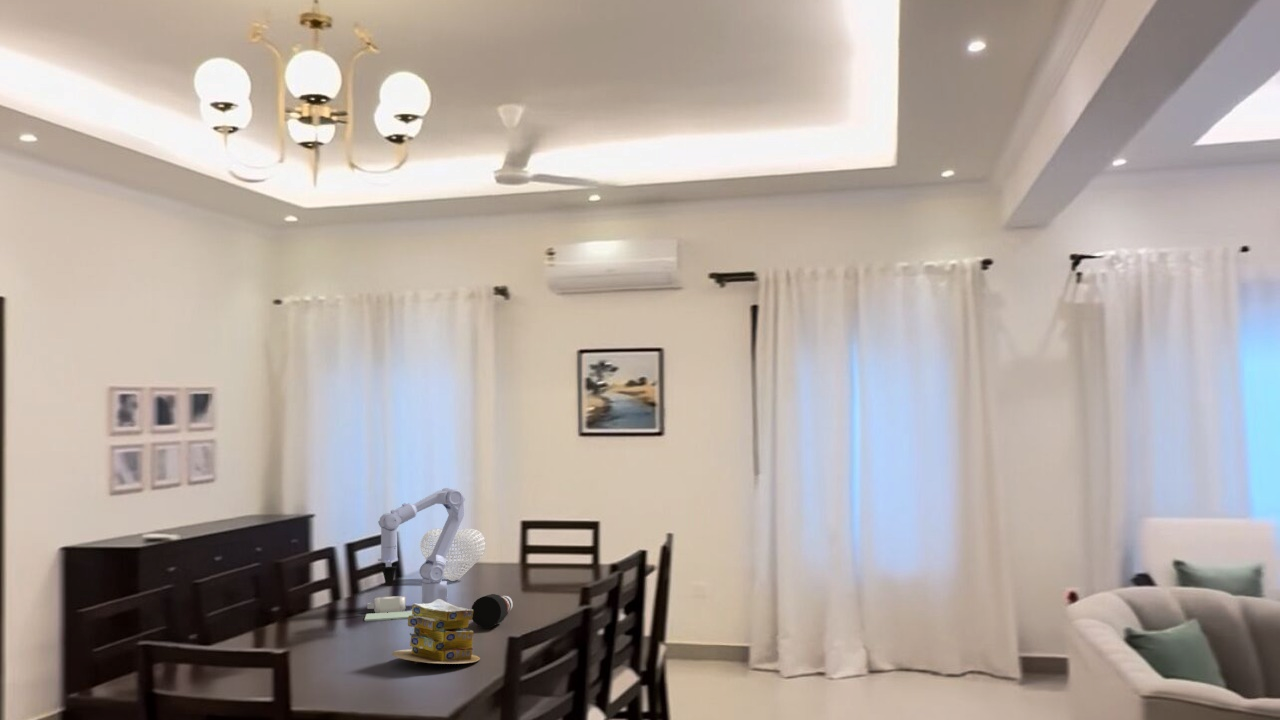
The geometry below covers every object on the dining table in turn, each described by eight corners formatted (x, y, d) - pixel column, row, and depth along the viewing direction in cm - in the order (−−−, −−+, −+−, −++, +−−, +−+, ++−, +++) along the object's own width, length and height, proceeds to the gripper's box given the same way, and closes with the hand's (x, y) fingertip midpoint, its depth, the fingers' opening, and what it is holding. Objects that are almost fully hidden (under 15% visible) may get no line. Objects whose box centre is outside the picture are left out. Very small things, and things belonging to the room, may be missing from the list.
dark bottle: (513, 622, 351) (526, 596, 352) (492, 633, 318) (506, 605, 319) (489, 609, 353) (502, 583, 354) (465, 619, 319) (479, 590, 320)
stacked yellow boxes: (452, 647, 296) (451, 592, 297) (496, 662, 277) (495, 603, 278) (377, 662, 280) (376, 604, 281) (418, 679, 261) (417, 616, 262)
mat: (412, 612, 350) (412, 611, 350) (411, 618, 340) (411, 616, 340) (366, 615, 346) (366, 613, 346) (364, 621, 337) (364, 619, 337)
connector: (405, 609, 356) (405, 595, 356) (405, 611, 352) (405, 597, 352) (367, 611, 353) (367, 597, 354) (367, 613, 349) (367, 599, 350)
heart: (490, 577, 422) (489, 526, 423) (480, 584, 406) (479, 530, 408) (427, 577, 425) (427, 526, 426) (415, 584, 409) (415, 531, 411)
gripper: (379, 544, 361) (379, 581, 360) (376, 549, 346) (377, 588, 346) (398, 543, 362) (398, 580, 361) (397, 548, 348) (397, 586, 347)
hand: (389, 584), depth 354 cm, fingers open, 7 cm apart
